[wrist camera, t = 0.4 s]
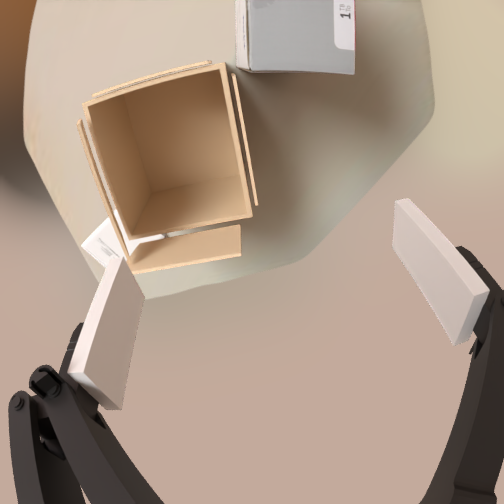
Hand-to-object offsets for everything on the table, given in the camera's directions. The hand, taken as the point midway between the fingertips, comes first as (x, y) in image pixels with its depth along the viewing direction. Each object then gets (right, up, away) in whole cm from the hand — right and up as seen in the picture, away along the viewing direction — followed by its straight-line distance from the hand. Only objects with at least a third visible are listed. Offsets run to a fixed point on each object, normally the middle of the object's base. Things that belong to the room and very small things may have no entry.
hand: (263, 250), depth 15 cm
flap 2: (-7, 0, +15) cm, 17 cm away
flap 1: (-14, +6, +11) cm, 19 cm away
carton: (-9, +16, +24) cm, 30 cm away
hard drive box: (+1, +29, +16) cm, 33 cm away
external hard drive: (-21, +2, +33) cm, 39 cm away
